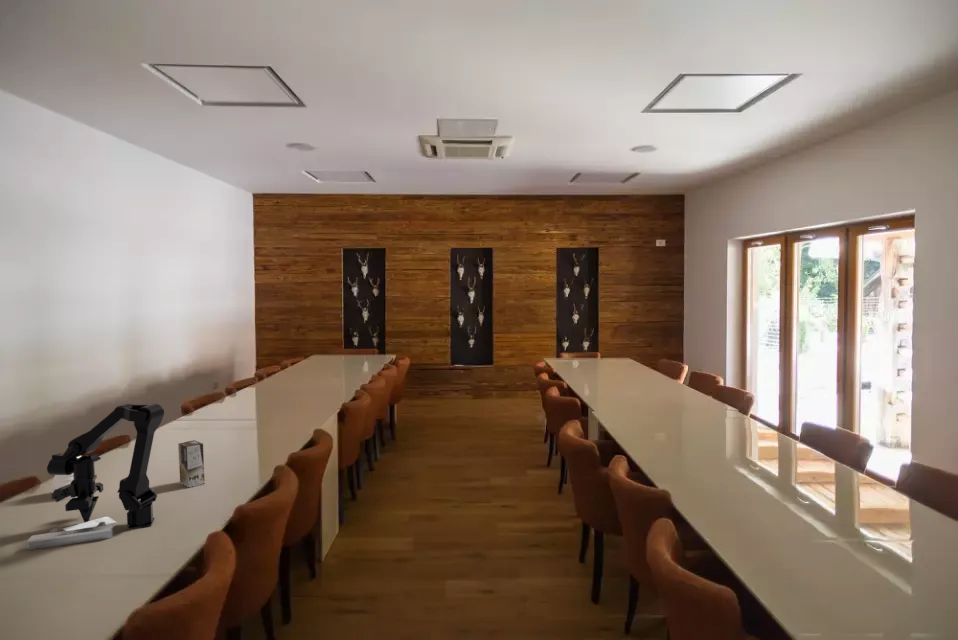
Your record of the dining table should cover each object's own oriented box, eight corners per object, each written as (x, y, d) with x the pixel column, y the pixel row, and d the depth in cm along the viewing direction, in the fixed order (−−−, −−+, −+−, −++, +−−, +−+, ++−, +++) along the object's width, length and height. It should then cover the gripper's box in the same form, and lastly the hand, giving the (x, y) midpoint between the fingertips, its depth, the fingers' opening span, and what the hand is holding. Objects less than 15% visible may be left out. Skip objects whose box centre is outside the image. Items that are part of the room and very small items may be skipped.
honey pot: (90, 485, 223) (88, 440, 222) (97, 493, 214) (95, 446, 213) (49, 493, 214) (47, 446, 213) (55, 502, 205) (52, 453, 204)
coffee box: (205, 483, 222) (203, 443, 222) (188, 488, 218) (186, 446, 217) (196, 478, 229) (194, 439, 228) (179, 483, 224) (177, 442, 223)
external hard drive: (62, 533, 179) (107, 520, 189) (71, 539, 174) (116, 526, 184) (62, 528, 179) (106, 515, 189) (71, 534, 174) (116, 521, 184)
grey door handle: (118, 527, 182) (117, 518, 181) (111, 538, 173) (111, 528, 173) (39, 538, 174) (38, 528, 174) (28, 550, 166) (27, 540, 166)
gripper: (63, 469, 190) (66, 515, 191) (44, 487, 173) (46, 537, 173) (102, 465, 194) (104, 510, 195) (87, 482, 177) (89, 531, 177)
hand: (86, 521), depth 185 cm, fingers closed
